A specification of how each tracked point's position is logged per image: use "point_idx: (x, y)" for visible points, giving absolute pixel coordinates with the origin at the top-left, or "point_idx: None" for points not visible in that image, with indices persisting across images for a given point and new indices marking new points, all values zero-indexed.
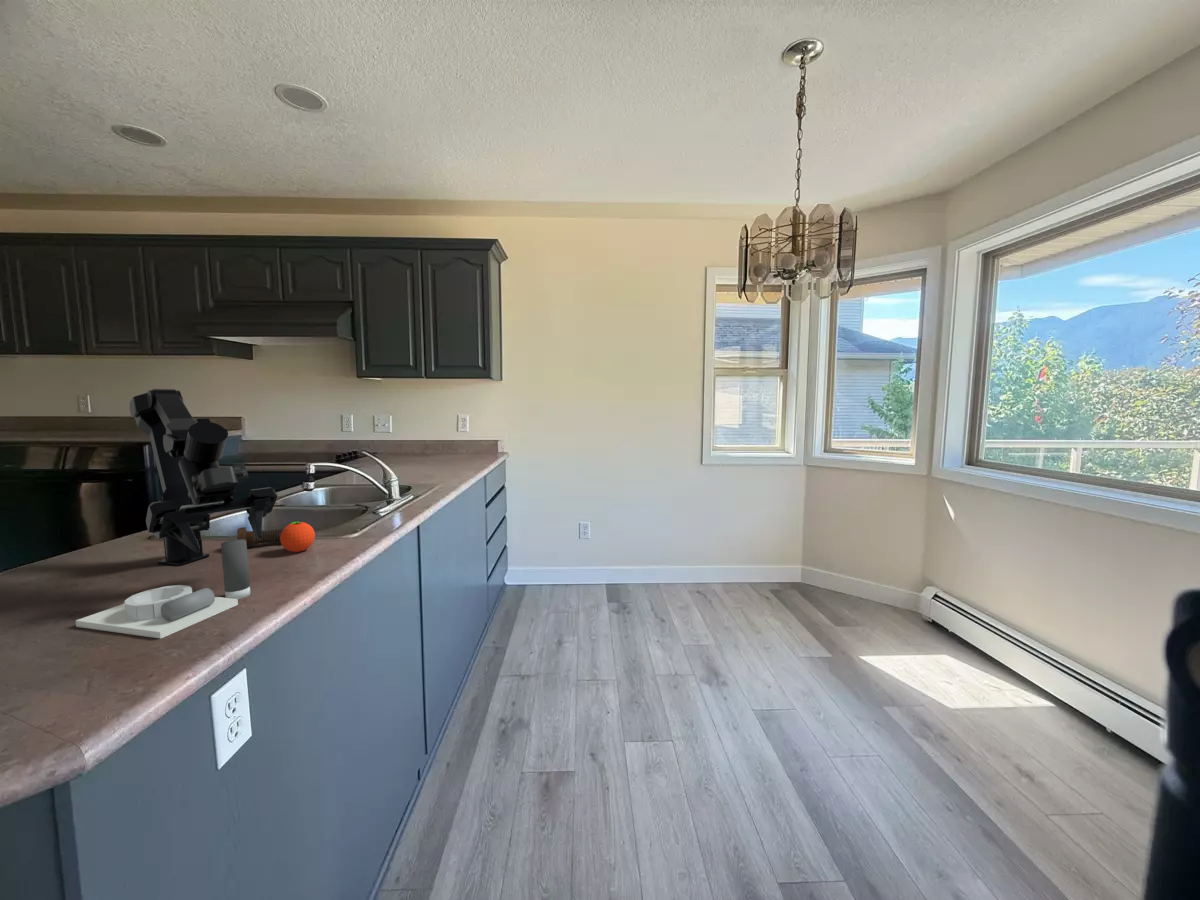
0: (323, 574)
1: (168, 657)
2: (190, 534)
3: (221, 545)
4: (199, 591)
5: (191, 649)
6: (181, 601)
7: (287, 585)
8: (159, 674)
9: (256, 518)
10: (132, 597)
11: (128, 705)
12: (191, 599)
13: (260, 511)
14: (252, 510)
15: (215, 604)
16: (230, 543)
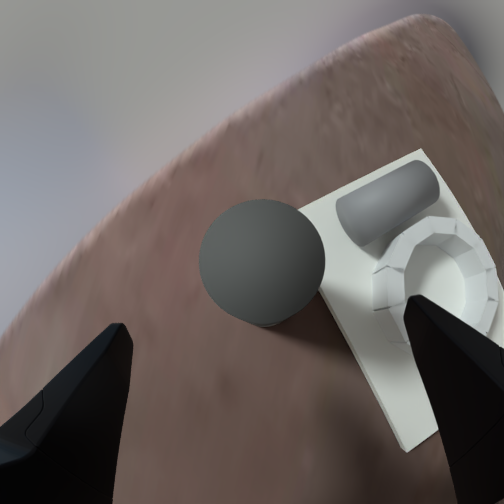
0: (63, 289)
1: (394, 83)
2: (477, 344)
3: (323, 254)
4: (375, 197)
5: (369, 82)
6: (407, 170)
7: (146, 277)
8: (395, 55)
9: (56, 406)
10: (488, 312)
11: (407, 30)
12: (389, 175)
13: (5, 435)
14: (41, 501)
15: (330, 221)
16: (281, 247)
